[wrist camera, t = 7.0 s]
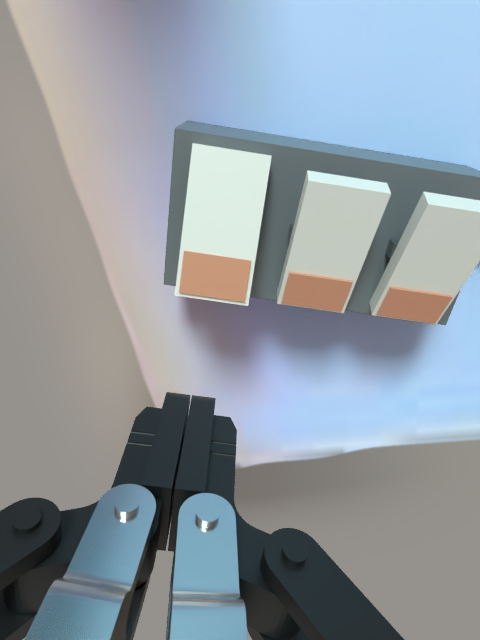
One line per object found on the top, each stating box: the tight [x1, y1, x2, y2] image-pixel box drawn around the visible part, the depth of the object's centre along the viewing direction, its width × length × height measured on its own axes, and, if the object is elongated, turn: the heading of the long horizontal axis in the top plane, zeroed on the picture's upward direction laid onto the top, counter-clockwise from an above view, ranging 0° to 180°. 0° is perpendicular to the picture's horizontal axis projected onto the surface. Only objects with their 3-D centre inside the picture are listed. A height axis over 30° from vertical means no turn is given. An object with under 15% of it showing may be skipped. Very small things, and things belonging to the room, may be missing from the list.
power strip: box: [164, 121, 480, 325], centre depth 25 cm, size 22×8×5 cm, turn 82°
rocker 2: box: [277, 170, 391, 313], centre depth 22 cm, size 4×7×1 cm, turn 172°
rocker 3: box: [370, 192, 480, 324], centre depth 22 cm, size 4×7×1 cm, turn 172°
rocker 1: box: [175, 143, 272, 306], centre depth 21 cm, size 4×7×1 cm, turn 172°
